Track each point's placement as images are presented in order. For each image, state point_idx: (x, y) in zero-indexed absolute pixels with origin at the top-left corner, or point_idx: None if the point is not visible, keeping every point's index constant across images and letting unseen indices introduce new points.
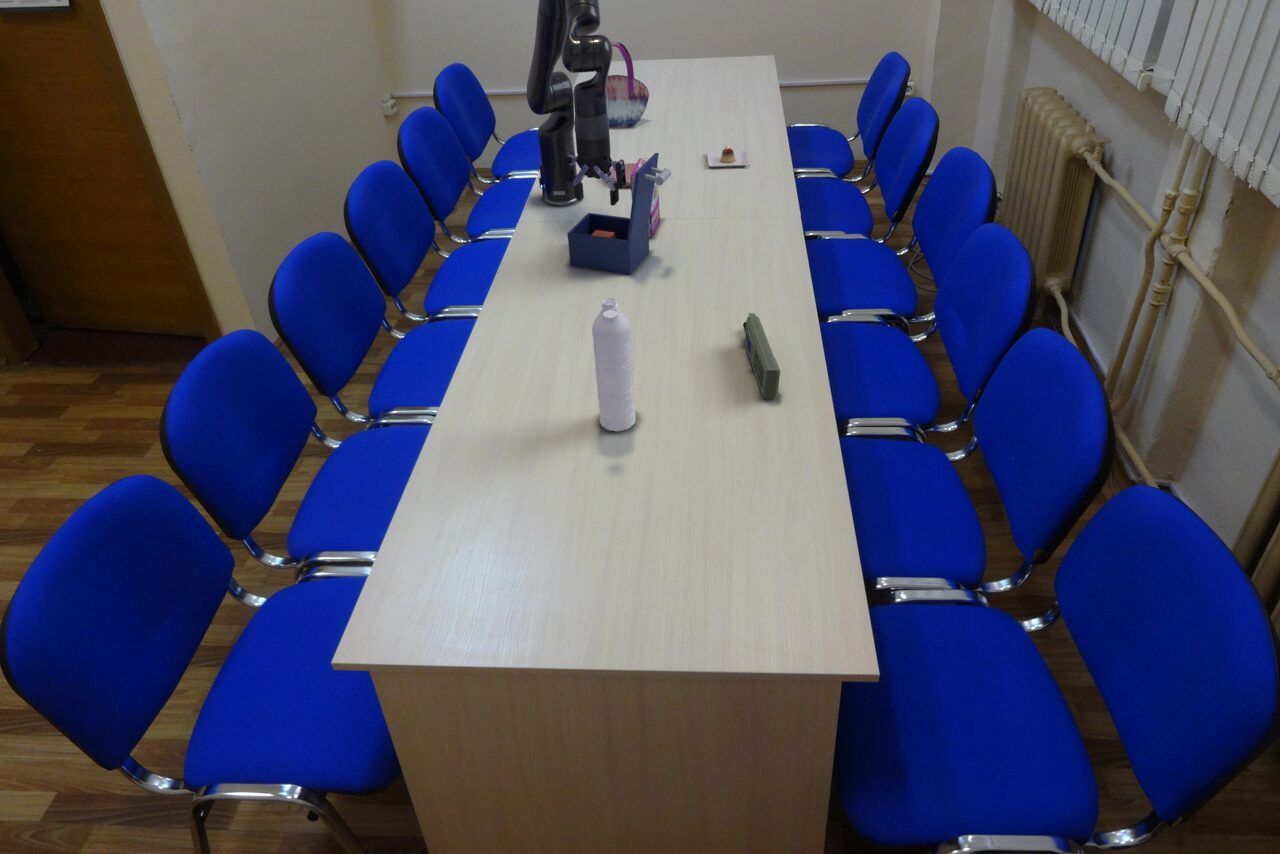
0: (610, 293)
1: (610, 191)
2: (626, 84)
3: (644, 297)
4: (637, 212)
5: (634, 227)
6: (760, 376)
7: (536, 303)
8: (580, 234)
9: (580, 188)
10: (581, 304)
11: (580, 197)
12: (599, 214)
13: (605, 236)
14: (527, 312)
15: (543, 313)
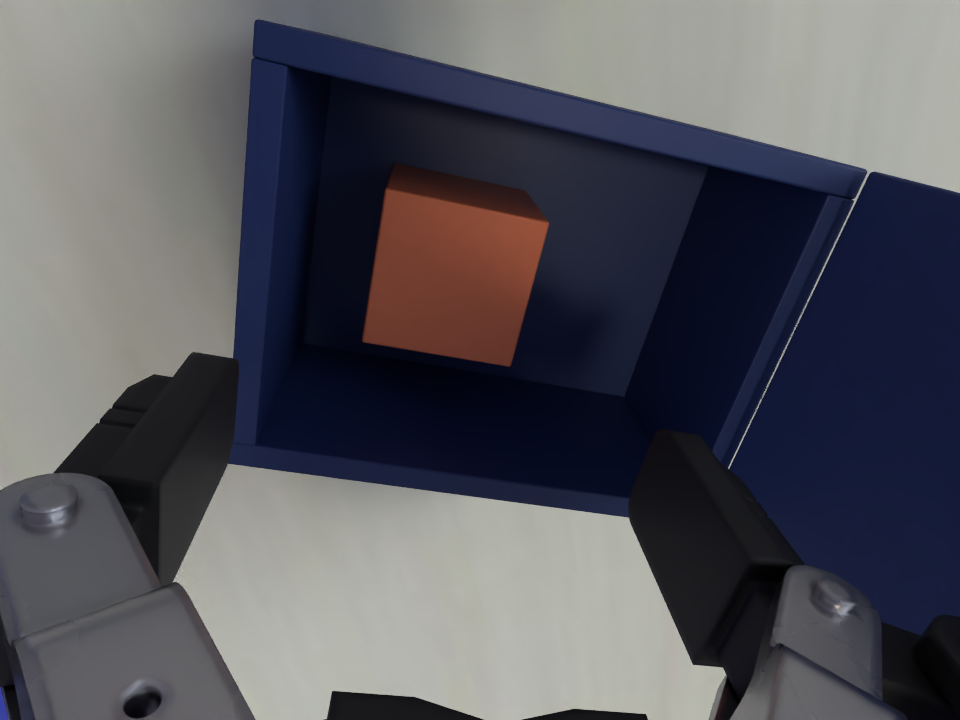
0: (552, 557)
1: (696, 652)
2: None
3: None
4: None
5: None
6: None
7: (261, 653)
8: (336, 468)
9: (180, 521)
10: (448, 637)
11: (221, 458)
12: (388, 61)
13: (489, 298)
14: (254, 703)
15: (319, 700)
